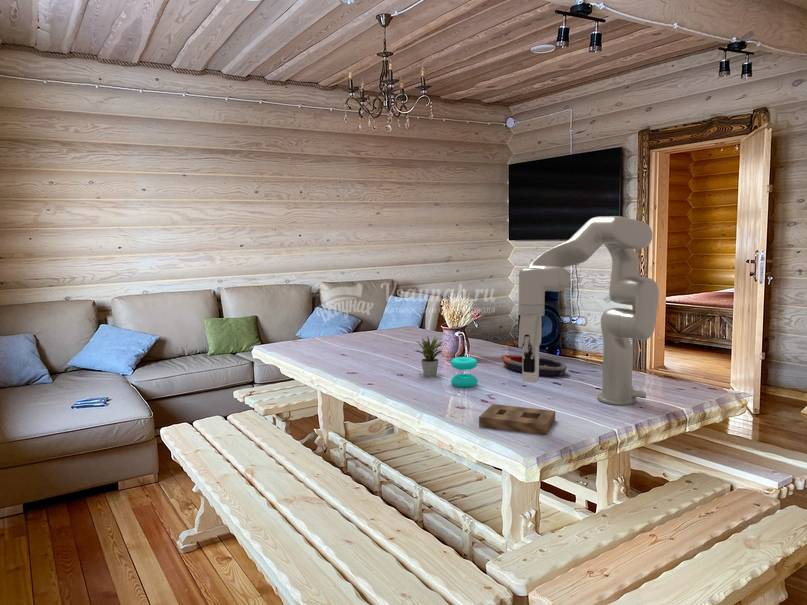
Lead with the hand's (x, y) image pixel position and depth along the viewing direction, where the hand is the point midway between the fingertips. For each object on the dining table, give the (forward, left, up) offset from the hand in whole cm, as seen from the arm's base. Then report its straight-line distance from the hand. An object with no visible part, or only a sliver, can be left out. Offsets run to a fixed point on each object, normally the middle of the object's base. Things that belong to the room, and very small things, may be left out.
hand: (530, 369), depth 179 cm
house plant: (+51, -44, -17) cm, 70 cm away
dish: (+15, -67, -18) cm, 71 cm away
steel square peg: (0, 0, -3) cm, 3 cm away
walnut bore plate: (+4, 0, -17) cm, 18 cm away
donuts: (+34, -36, -17) cm, 52 cm away
